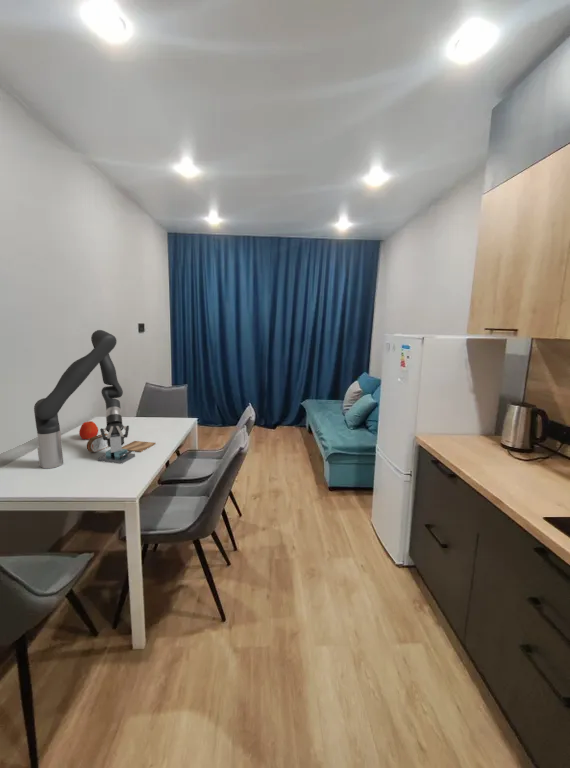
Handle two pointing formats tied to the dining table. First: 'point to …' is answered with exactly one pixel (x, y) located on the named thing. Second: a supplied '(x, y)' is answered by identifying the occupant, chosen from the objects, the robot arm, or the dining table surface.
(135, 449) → the board
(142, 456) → the dining table surface
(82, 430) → the apple
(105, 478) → the dining table surface
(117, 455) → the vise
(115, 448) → the sleeve
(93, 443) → the tin
